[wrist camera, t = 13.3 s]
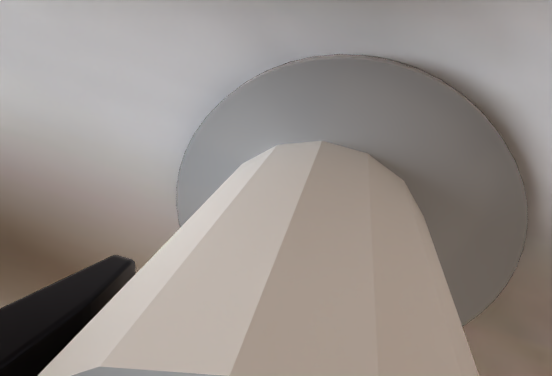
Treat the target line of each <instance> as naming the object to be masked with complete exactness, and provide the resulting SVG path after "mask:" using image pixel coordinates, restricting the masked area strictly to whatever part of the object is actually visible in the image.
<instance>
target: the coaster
mask: <svg viewBox="0 0 552 376" xmlns="http://www.w3.org/2000/svg"><path fill="white" fill-rule="evenodd" d="M314 141H325V142H328V143H332V144H336V145H339V146H343V147H346V148H350V149H353V150H357V151H361V152H364V153H368V154H369V155H370V156H372V157H373V158H374V159H376V160H377V161H378V162H380V163H381V164H382V165H384V166H385V167H386V168H388V169H389V170H390V171H392V172H393V173H394V174H396V175H397V176H398V177H400V178H401V179H402V180H404V182H405V184H406V186H407V187H408V189H409V191H410V193H411V195H412V196H413V198H414V200H415V202H416V203H417V205H418V207H419V209H420V211H421V212H422V214H423V216H424V219H425V222H426V224H427V227H428V230H429V233H430V236H431V239H432V242H433V244H434V247H435V250H436V253H437V256H438V259H439V262H440V264H441V267H442V270H443V273H444V276H445V279H446V282H447V285H448V287H449V290H450V293H451V296H452V299H453V302H454V305H455V307H456V310H457V313H458V316H459V319H460V322H461V325H462V326H464V325H465V324H467V323H468V322H470V321H471V320H472V319H474V318H475V317H476V316H478V315H479V314H480V313H482V312H483V311H484V310H485V309H486V308H487V307H488V306H489V305H490V304H491V303H492V302H493V301H494V300H495V299H496V298H497V296H498V295H499V294H500V292H501V291H502V290H503V289H504V287H505V286H506V285H507V283H508V281H509V280H510V278H511V276H512V274H513V272H514V271H515V269H516V267H517V265H518V262H519V259H520V256H521V254H522V251H523V248H524V243H525V237H526V232H527V201H526V195H525V189H524V184H523V181H522V178H521V175H520V173H519V170H518V167H517V164H516V162H515V160H514V158H513V156H512V155H511V153H510V151H509V149H508V147H507V146H506V144H505V142H504V140H503V139H502V137H501V136H500V134H499V133H498V132H497V130H496V129H495V128H494V126H493V125H492V124H491V123H490V121H489V120H488V119H487V118H486V116H485V115H484V114H483V113H482V111H480V110H479V109H478V108H477V107H476V106H475V105H474V104H473V103H472V102H471V101H469V100H468V99H467V98H466V97H465V96H464V95H463V94H461V93H460V92H458V91H457V90H455V89H454V88H452V87H451V86H449V85H448V84H447V83H445V82H444V81H442V80H440V79H438V78H436V77H434V76H432V75H430V74H428V73H426V72H424V71H422V70H420V69H417V68H414V67H411V66H408V65H405V64H402V63H399V62H396V61H393V60H388V59H382V58H377V57H371V56H366V55H343V54H337V55H326V56H315V57H309V58H305V59H301V60H296V61H292V62H288V63H285V64H283V65H280V66H277V67H275V68H272V69H270V70H267V71H265V72H263V73H261V74H259V75H258V76H256V77H254V78H252V79H250V80H249V81H247V82H245V83H244V84H243V85H241V86H240V87H239V88H237V89H236V90H235V91H233V92H232V93H231V94H229V95H228V96H227V97H226V98H225V99H224V100H223V101H221V102H220V103H219V104H218V105H217V106H216V107H215V109H214V110H213V111H212V112H211V113H210V114H209V115H208V116H207V117H206V118H205V119H204V121H203V122H202V123H201V125H200V126H199V128H198V129H197V130H196V132H195V133H194V135H193V137H192V139H191V141H190V143H189V145H188V147H187V149H186V151H185V153H184V157H183V160H182V163H181V166H180V169H179V175H178V182H177V203H176V206H177V213H178V220H179V225H180V228H181V226H182V225H183V224H184V223H185V222H186V221H187V220H188V219H189V218H190V217H191V216H192V215H193V214H194V213H195V212H196V211H197V210H198V209H199V208H200V207H201V206H202V205H203V204H204V203H205V202H206V201H207V200H208V199H209V198H210V196H211V195H212V194H213V193H214V192H215V191H216V190H217V189H218V188H219V187H220V186H221V185H222V184H223V183H224V182H225V181H226V180H227V179H228V178H229V177H230V176H231V175H232V174H233V173H234V172H235V171H236V170H237V169H238V167H239V166H240V165H241V164H242V163H244V162H246V161H248V160H250V159H252V158H254V157H256V156H257V155H259V154H261V153H263V152H265V151H267V150H269V149H271V148H272V147H274V146H276V145H282V144H292V143H303V142H314Z"/></svg>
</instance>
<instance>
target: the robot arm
mask: <svg viewBox="0 0 552 376" xmlns="http://www.w3.org/2000/svg"><path fill="white" fill-rule="evenodd" d="M134 275H135V262H134V261H133V260H132V259H129V258H125V257H122V256H119V255H114V256H111V257H108V258H106V259H104V260H102V261H100V262H98V263H96V264H94V265H92V266H89V267H87V268H85V269H83V270H81V271H79V272H77V273H75V274H72V275H70V276H68V277H66V278H64V279H62V280H60V281H58V282H55V283H53V284H51V285H49V286H47V287H45V288H43V289H41V290H39V291H36V292H34V293H32V294H30V295H28V296H26V297H24V298H22V299H19V300H17V301H15V302H13V303H11V304H9V305H7V306H5V307H3V308H0V376H38V375H39V374H40V373H41V371H42V370H43V369H44V368H45V367H46V366H47V365H48V364H49V363H50V362H51V361H52V360H53V359H54V358H55V357H56V356H57V355H58V354H59V353H60V352H61V351H62V350H63V349H64V348H65V347H66V346H67V345H68V344H69V342H70V341H71V340H72V339H73V338H74V337H75V336H76V335H77V334H78V333H79V332H80V331H81V330H82V329H83V328H84V327H85V326H86V325H87V324H88V323H89V322H90V321H91V320H92V319H93V318H94V317H95V316H96V315H97V313H98V312H99V311H100V310H101V309H102V308H103V307H104V306H105V305H106V304H107V303H108V302H109V301H110V300H111V299H112V298H113V297H114V296H115V295H116V294H117V293H118V292H119V291H120V290H121V289H122V288H123V287H124V286H125V284H126V283H127V282H128V281H129V280H130V279H131V278H132V277H133V276H134Z"/></svg>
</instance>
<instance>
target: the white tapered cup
mask: <svg viewBox="0 0 552 376" xmlns="http://www.w3.org/2000/svg"><path fill="white" fill-rule="evenodd" d="M38 376H479V373H478V370H477V367H476V365H475V362H474V359H473V356H472V353H471V350H470V347H469V345H468V342H467V339H466V336H465V333H464V330H463V327H462V325H461V322H460V319H459V316H458V313H457V310H456V307H455V305H454V302H453V299H452V296H451V293H450V290H449V287H448V285H447V282H446V279H445V276H444V273H443V270H442V267H441V264H440V262H439V259H438V256H437V253H436V250H435V247H434V244H433V242H432V239H431V236H430V233H429V230H428V227H427V224H426V222H425V219H424V216H423V214H422V212H421V211H420V209H419V207H418V205H417V203H416V202H415V200H414V198H413V196H412V195H411V193H410V191H409V189H408V187H407V186H406V184H405V182H404V180H402V179H401V178H400V177H398V176H397V175H396V174H394V173H393V172H392V171H390V170H389V169H388V168H386V167H385V166H384V165H382V164H381V163H380V162H378V161H377V160H376V159H374V158H373V157H372V156H370V155H369V154H368V153H364V152H361V151H357V150H353V149H350V148H346V147H343V146H339V145H336V144H332V143H328V142H325V141H314V142H303V143H292V144H282V145H276V146H274V147H272V148H271V149H269V150H267V151H265V152H263V153H261V154H259V155H257V156H256V157H254V158H252V159H250V160H248V161H246V162H244V163H242V164H241V165H240V166H239V167H238V169H237V170H236V171H235V172H234V173H233V174H232V175H231V176H230V177H229V178H228V179H227V180H226V181H225V182H224V183H223V184H222V185H221V186H220V187H219V188H218V189H217V190H216V191H215V192H214V193H213V194H212V195H211V196H210V198H209V199H208V200H207V201H206V202H205V203H204V204H203V205H202V206H201V207H200V208H199V209H198V210H197V211H196V212H195V213H194V214H193V215H192V216H191V217H190V218H189V219H188V220H187V221H186V222H185V223H184V224H183V225H182V226H181V228H180V229H179V230H178V231H177V232H176V233H175V234H174V235H173V236H172V237H171V238H170V239H169V240H168V241H167V242H166V243H165V244H164V245H163V246H162V247H161V248H160V249H159V250H158V251H157V252H156V253H155V254H154V255H153V257H152V258H151V259H150V260H149V261H148V262H147V263H146V264H145V265H144V266H143V267H142V268H141V269H140V270H139V271H138V272H137V273H136V274H135V275H134V276H133V277H132V278H131V279H130V280H129V281H128V282H127V283H126V284H125V286H124V287H123V288H122V289H121V290H120V291H119V292H118V293H117V294H116V295H115V296H114V297H113V298H112V299H111V300H110V301H109V302H108V303H107V304H106V305H105V306H104V307H103V308H102V309H101V310H100V311H99V312H98V313H97V315H96V316H95V317H94V318H93V319H92V320H91V321H90V322H89V323H88V324H87V325H86V326H85V327H84V328H83V329H82V330H81V331H80V332H79V333H78V334H77V335H76V336H75V337H74V338H73V339H72V340H71V341H70V342H69V344H68V345H67V346H66V347H65V348H64V349H63V350H62V351H61V352H60V353H59V354H58V355H57V356H56V357H55V358H54V359H53V360H52V361H51V362H50V363H49V364H48V365H47V366H46V367H45V368H44V369H43V370H42V371H41V373H40V374H39V375H38Z"/></svg>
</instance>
